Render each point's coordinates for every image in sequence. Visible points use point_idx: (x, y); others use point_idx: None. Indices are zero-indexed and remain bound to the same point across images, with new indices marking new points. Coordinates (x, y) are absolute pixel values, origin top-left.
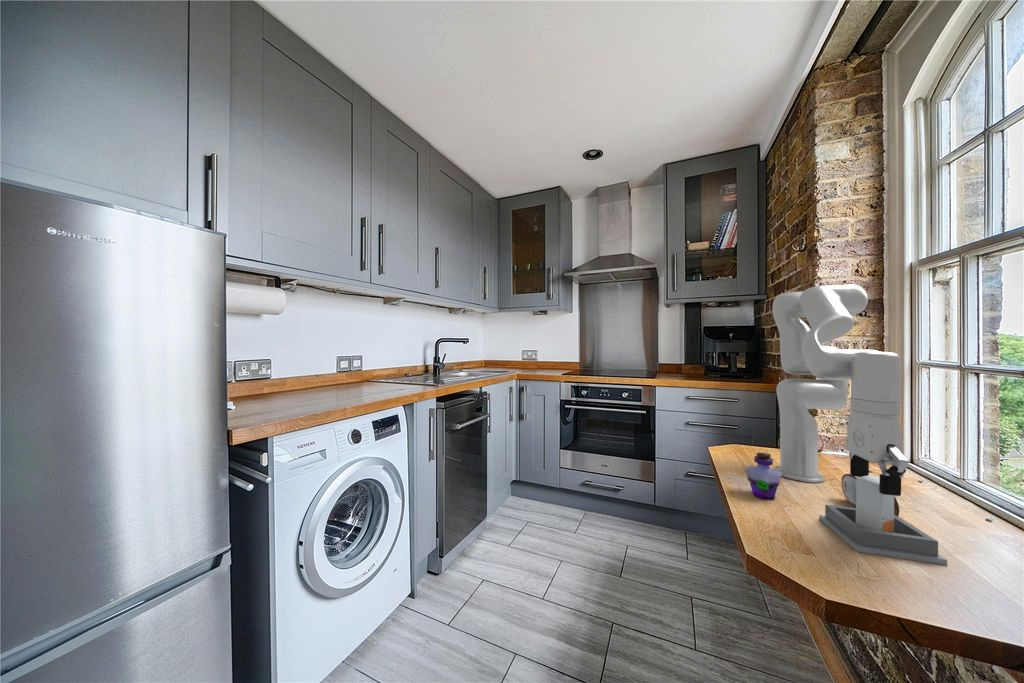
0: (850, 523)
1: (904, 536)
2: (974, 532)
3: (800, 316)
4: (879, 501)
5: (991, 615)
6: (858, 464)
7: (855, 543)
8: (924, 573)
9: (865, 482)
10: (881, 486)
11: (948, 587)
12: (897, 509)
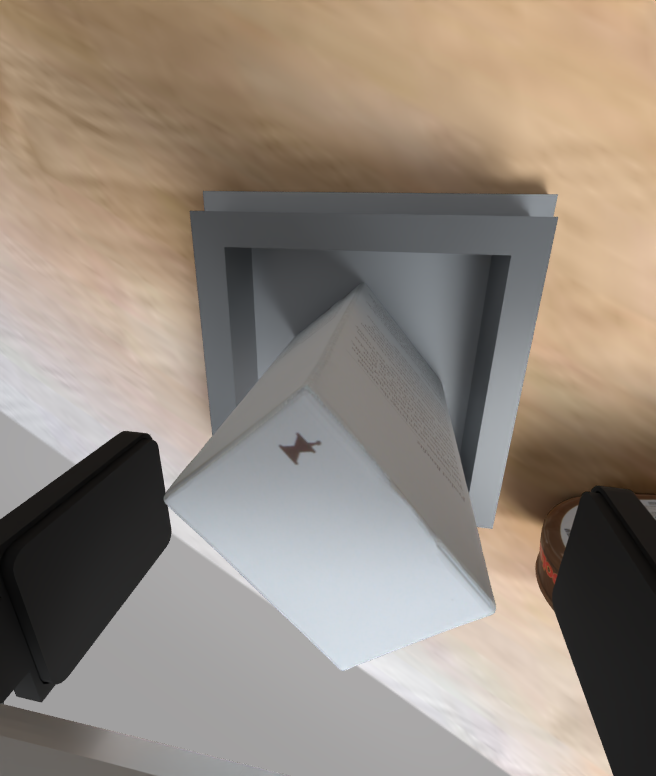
0: (273, 218)
1: (212, 400)
2: (513, 706)
3: None
4: (231, 414)
5: None
6: (644, 667)
7: (234, 206)
8: (144, 353)
9: (248, 426)
10: (81, 464)
11: (86, 365)
12: (540, 580)
